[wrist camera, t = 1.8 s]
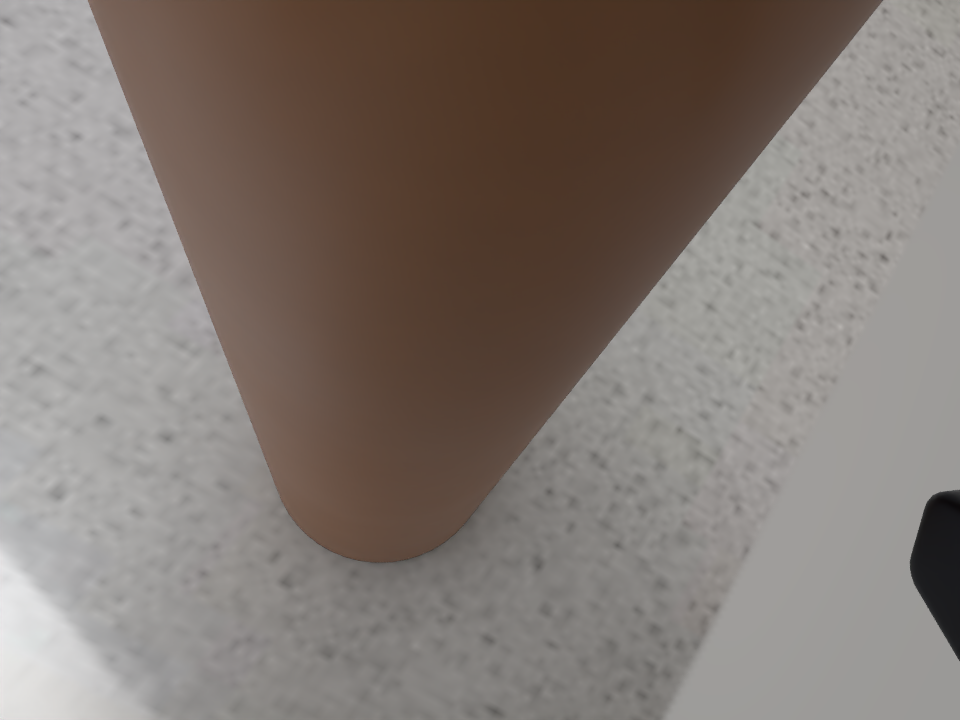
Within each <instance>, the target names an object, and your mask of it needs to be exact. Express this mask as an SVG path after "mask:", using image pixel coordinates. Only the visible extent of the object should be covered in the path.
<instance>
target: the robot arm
mask: <svg viewBox="0 0 960 720" xmlns="http://www.w3.org/2000/svg"><path fill="white" fill-rule="evenodd" d="M910 571H911V576H912V579H913V582H914V584H915V586H916V588H917V590H918V592H919V593H920V595H921V597H922V598H923V600H924V602H925V603H926V605H927V607H928V608H929V610H930V612H931V614H932V615H933V617H934V618H935V620H936V622H937V624H938V625H939V627H940V629H941V630H942V632H943V634H944V636H945V637H946V639H947V640H948V642H949V644H950V646H951V647H952V649H953V651H954V652H955V654H956V656H957V657H958V659H959V661H960V490H953V491H945V492H939V493H937V494H935V495H933V496H932V497H931V498H930V499H929V501H928V502H927V504H926V506H925V509H924V512H923V516H922V519H921V523H920V527H919V530H918V533H917V537H916V540H915V544H914V547H913V551H912V554H911V559H910Z"/></svg>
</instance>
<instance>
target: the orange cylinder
mask: <svg viewBox="0 0 960 720" xmlns="http://www.w3.org/2000/svg"><path fill="white" fill-rule="evenodd" d="M882 1H883V0H88V2H89V5H90V7H91V10H92V12H93V15H94V18H95V20H96V23H97V25H98V28H99V30H100V33H101V36H102V38H103V41H104V43H105V46H106V49H107V51H108V54H109V56H110V59H111V61H112V64H113V67H114V69H115V72H116V74H117V77H118V80H119V82H120V85H121V87H122V90H123V92H124V95H125V98H126V100H127V103H128V105H129V108H130V111H131V113H132V116H133V118H134V121H135V123H136V126H137V129H138V131H139V134H140V136H141V139H142V141H143V144H144V147H145V149H146V152H147V154H148V157H149V160H150V162H151V165H152V167H153V170H154V172H155V175H156V178H157V180H158V183H159V185H160V188H161V191H162V193H163V196H164V198H165V201H166V203H167V206H168V209H169V211H170V214H171V216H172V219H173V221H174V224H175V227H176V229H177V232H178V234H179V237H180V240H181V242H182V245H183V247H184V250H185V252H186V255H187V258H188V260H189V263H190V265H191V268H192V271H193V273H194V276H195V278H196V281H197V283H198V286H199V289H200V291H201V294H202V296H203V299H204V301H205V304H206V307H207V309H208V312H209V314H210V317H211V320H212V322H213V325H214V327H215V330H216V332H217V335H218V338H219V340H220V343H221V345H222V348H223V351H224V353H225V356H226V358H227V361H228V363H229V366H230V369H231V371H232V374H233V376H234V379H235V381H236V384H237V387H238V389H239V392H240V394H241V397H242V400H243V402H244V405H245V407H246V410H247V412H248V415H249V418H250V420H251V423H252V425H253V428H254V431H255V433H256V436H257V438H258V441H259V443H260V446H261V449H262V451H263V454H264V456H265V459H266V461H267V464H268V467H269V469H270V472H271V474H272V477H273V480H274V482H275V485H276V487H277V490H278V492H279V495H280V498H281V500H282V502H283V504H284V506H285V508H286V509H287V511H288V513H289V515H290V516H291V517H292V519H293V520H294V521H295V523H296V524H297V525H298V526H299V527H300V528H301V529H302V530H303V531H304V532H305V533H306V534H307V535H308V536H309V537H310V538H312V539H313V540H314V541H316V542H317V543H318V544H320V545H321V546H323V547H325V548H327V549H328V550H330V551H332V552H334V553H337V554H339V555H342V556H344V557H347V558H351V559H355V560H359V561H366V562H394V561H401V560H406V559H409V558H413V557H416V556H419V555H422V554H424V553H426V552H428V551H431V550H433V549H434V548H436V547H438V546H439V545H441V544H442V543H444V542H445V541H447V540H448V539H449V538H450V537H452V536H453V535H454V534H455V533H456V532H457V531H458V530H459V529H460V528H461V527H462V526H463V525H464V524H465V523H466V521H467V520H468V519H469V518H470V516H471V515H472V514H473V513H474V511H475V510H476V509H477V508H478V506H479V505H480V504H481V503H482V501H483V500H484V499H485V498H486V496H487V495H488V494H489V493H490V491H491V490H492V489H493V488H494V486H495V485H496V484H497V483H498V481H499V480H500V479H501V478H502V476H503V475H504V474H505V473H506V471H507V470H508V469H509V468H510V466H511V465H512V464H513V463H514V461H515V460H516V459H517V458H518V456H519V455H520V454H521V453H522V451H523V450H524V449H525V448H526V446H527V445H528V444H529V443H530V441H531V440H532V439H533V438H534V436H535V435H536V434H537V433H538V431H539V430H540V429H541V428H542V426H543V425H544V424H545V423H546V421H547V420H548V419H549V418H550V416H551V415H552V414H553V413H554V411H555V410H556V409H557V408H558V406H559V405H560V404H561V403H562V401H563V400H564V399H565V398H566V396H567V395H568V394H569V393H570V391H571V390H572V389H573V388H574V386H575V385H576V384H577V383H578V381H579V380H580V379H581V378H582V376H583V375H584V374H585V373H586V371H587V370H588V369H589V368H590V366H591V365H592V364H593V363H594V361H595V360H596V359H597V358H598V356H599V355H600V354H601V353H602V351H603V350H604V349H605V348H606V346H607V345H608V344H609V343H610V341H611V340H612V339H613V338H614V336H615V335H616V334H617V333H618V331H619V330H620V329H621V328H622V326H623V325H624V324H625V323H626V321H627V320H628V319H629V318H630V316H631V315H632V314H633V313H634V311H635V310H636V309H637V308H638V306H639V305H640V304H641V303H642V301H643V300H644V299H645V298H646V296H647V295H648V294H649V293H650V291H651V290H652V289H653V287H654V286H655V285H656V284H657V282H658V281H659V280H660V279H661V277H662V276H663V275H664V274H665V272H666V271H667V270H668V269H669V267H670V266H671V265H672V264H673V262H674V261H675V260H676V259H677V257H678V256H679V255H680V254H681V252H682V251H683V250H684V249H685V247H686V246H687V245H688V244H689V242H690V241H691V240H692V239H693V237H694V236H695V235H696V234H697V232H698V231H699V230H700V229H701V227H702V226H703V225H704V224H705V222H706V221H707V220H708V219H709V217H710V216H711V215H712V214H713V212H714V211H715V210H716V209H717V207H718V206H719V205H720V204H721V202H722V201H723V200H724V199H725V197H726V196H727V195H728V194H729V192H730V191H731V190H732V189H733V187H734V186H735V185H736V184H737V182H738V181H739V180H740V179H741V177H742V176H743V175H744V174H745V172H746V171H747V170H748V169H749V167H750V166H751V165H752V164H753V162H754V161H755V160H756V159H757V157H758V156H759V155H760V154H761V152H762V151H763V150H764V149H765V147H766V146H767V145H768V144H769V142H770V141H771V140H772V139H773V137H774V136H775V135H776V134H777V132H778V131H779V130H780V129H781V127H782V126H783V125H784V124H785V122H786V121H787V120H788V119H789V117H790V116H791V115H792V114H793V112H794V111H795V110H796V109H797V107H798V106H799V105H800V104H801V102H802V101H803V100H804V99H805V97H806V96H807V95H808V94H809V92H810V91H811V90H812V89H813V87H814V86H815V85H816V84H817V82H818V81H819V80H820V79H821V77H822V76H823V75H824V74H825V72H826V71H827V70H828V69H829V67H830V66H831V65H832V64H833V62H834V61H835V60H836V59H837V57H838V56H839V55H840V54H841V52H842V51H843V50H844V49H845V47H846V46H847V45H848V44H849V42H850V41H851V40H852V39H853V37H854V36H855V35H856V34H857V32H858V31H859V30H860V29H861V27H862V26H863V25H864V24H865V22H866V21H867V20H868V19H869V17H870V16H871V15H872V14H873V12H874V11H875V10H876V9H877V7H878V6H879V5H880V4H881V2H882Z"/></svg>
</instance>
